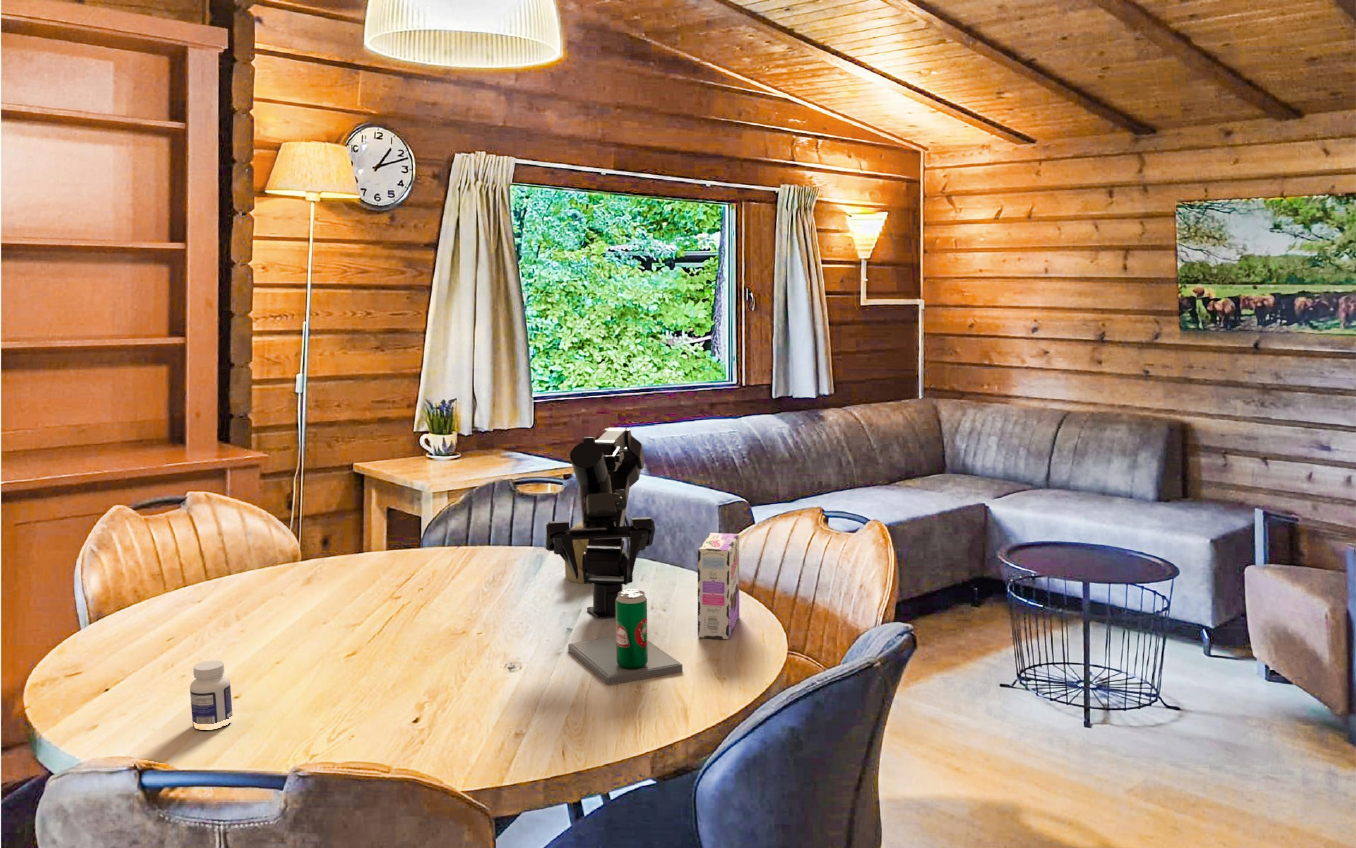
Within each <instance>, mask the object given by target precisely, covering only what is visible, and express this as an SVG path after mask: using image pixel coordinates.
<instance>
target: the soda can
mask: <svg viewBox="0 0 1356 848" xmlns="http://www.w3.org/2000/svg"><path fill="white" fill-rule="evenodd" d="M645 594H646V593H645V592H644V591H643V590H640V589H624V590H623V591H620V592H619V593H618V597H617V598H616V616H615V636H616V654H617V664H618V665H619V666H620V667H622V668H624V669H639V668H642V667H644V666H645V665H646V664H647V662H648V641H649V640H648V599H647V597H646V596H645Z"/></svg>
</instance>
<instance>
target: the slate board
mask: <svg viewBox="0 0 1356 848" xmlns="http://www.w3.org/2000/svg"><path fill="white" fill-rule="evenodd" d="M567 646H568V647H567V649H568V650H567V651H568V652H569V653H571V654H572V655H573V657H575V658H576V659H577V660H579V661H580V662H581V664H583V665H584V666H586V667H587V668H588V669H589V670H590V671H591V672H592V673H593V674H595V675H596V676H597V677H598V678H599V679H601V680H602V681H603V682H604V683H605V684H606V685H608V686H611V685H616V684H617V685H618V684H622V683H627V682H628V683H629V682H633V681H637V680H644V679H651V678H655V677H656V678H657V677H659V676H660V677H661V676H667V675H672V674H677V673H683V664H682V663H681V662H680V661H678V660H676V659H675V658H674V657H672V656H671V655H669V653H667V652H666V651H664V650H662V649H661V648H659V647H658V646H657V645H655V644H654V643H652V642H651V641H649V640H648V662H647V664H646V665H645V666H644V667H642V668H639V669H624V668H622V667H620V666H619V665H618V664H617V654H616V635H615V636H610V637H603V638H599V639H598V638H597V639H592V640H585V641H579V642H572V643H568V644H567Z"/></svg>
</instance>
